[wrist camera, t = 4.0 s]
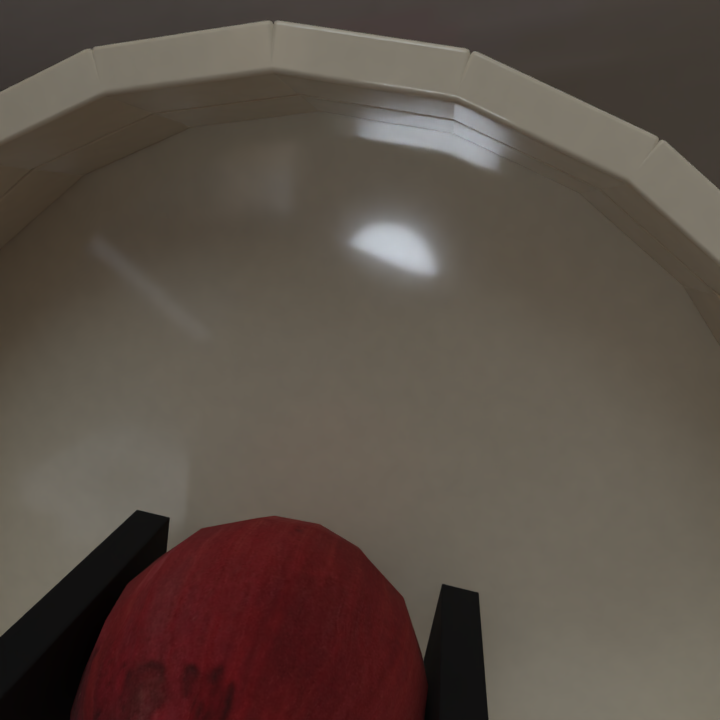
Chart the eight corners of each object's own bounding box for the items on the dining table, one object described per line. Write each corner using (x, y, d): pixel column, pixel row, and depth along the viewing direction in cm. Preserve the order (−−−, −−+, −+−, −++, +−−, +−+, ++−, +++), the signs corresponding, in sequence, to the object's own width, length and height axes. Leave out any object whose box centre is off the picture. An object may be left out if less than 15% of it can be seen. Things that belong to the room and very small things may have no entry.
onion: (159, 604, 15) (-160, 1029, 7) (242, 411, 13) (-51, 682, 5) (367, 711, 15) (275, 1265, 7) (476, 527, 13) (518, 979, 5)
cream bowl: (-99, 9, 12) (-301, -69, 9) (988, 181, 10) (1250, 162, 7) (-78, 780, 18) (-201, 910, 15) (635, 998, 16) (685, 1210, 12)
